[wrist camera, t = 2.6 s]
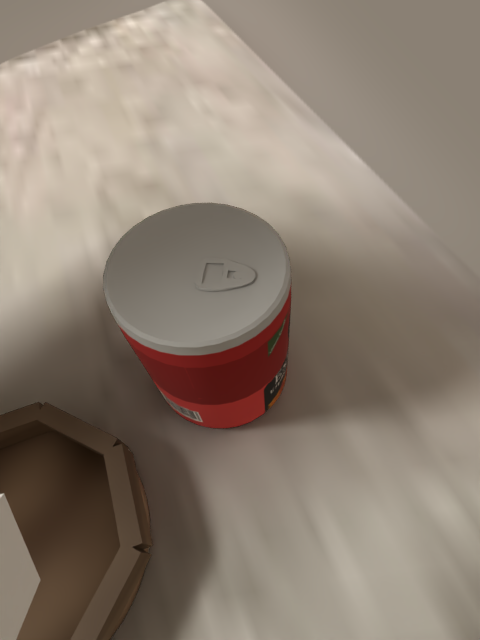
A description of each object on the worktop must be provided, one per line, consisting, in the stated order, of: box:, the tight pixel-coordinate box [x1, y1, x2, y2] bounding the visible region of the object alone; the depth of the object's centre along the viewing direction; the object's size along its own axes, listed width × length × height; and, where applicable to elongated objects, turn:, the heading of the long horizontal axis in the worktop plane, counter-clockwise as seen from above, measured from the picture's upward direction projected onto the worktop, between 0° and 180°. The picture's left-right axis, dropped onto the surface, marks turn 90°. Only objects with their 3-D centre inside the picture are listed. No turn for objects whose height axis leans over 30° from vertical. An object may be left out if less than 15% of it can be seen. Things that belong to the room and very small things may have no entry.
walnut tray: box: [0, 402, 153, 640], centre depth 22 cm, size 13×13×3 cm
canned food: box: [103, 203, 291, 428], centre depth 23 cm, size 8×8×11 cm
